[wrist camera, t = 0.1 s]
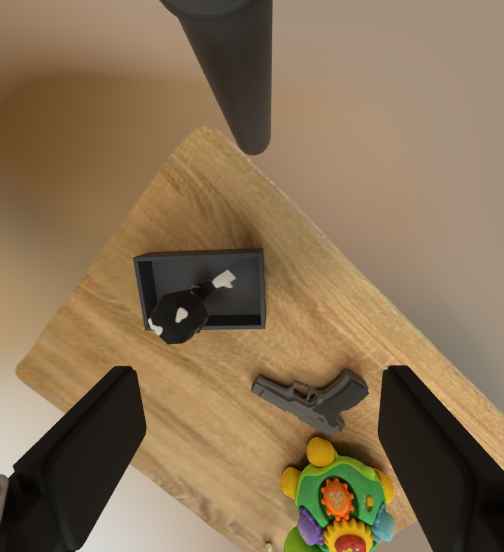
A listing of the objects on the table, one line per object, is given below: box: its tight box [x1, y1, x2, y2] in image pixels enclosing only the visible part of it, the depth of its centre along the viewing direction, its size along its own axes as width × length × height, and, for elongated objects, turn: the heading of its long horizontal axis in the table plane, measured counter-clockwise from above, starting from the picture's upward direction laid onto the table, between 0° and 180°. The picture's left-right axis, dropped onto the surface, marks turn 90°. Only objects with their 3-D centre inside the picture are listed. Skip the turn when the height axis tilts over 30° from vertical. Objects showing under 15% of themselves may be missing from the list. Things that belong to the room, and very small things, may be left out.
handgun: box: [251, 370, 369, 436], centre depth 41 cm, size 3×16×12 cm
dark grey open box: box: [133, 248, 266, 330], centre depth 38 cm, size 11×18×4 cm, turn 93°
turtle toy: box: [281, 437, 395, 552], centre depth 42 cm, size 17×23×12 cm
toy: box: [148, 270, 236, 344], centre depth 32 cm, size 13×6×15 cm, turn 123°
